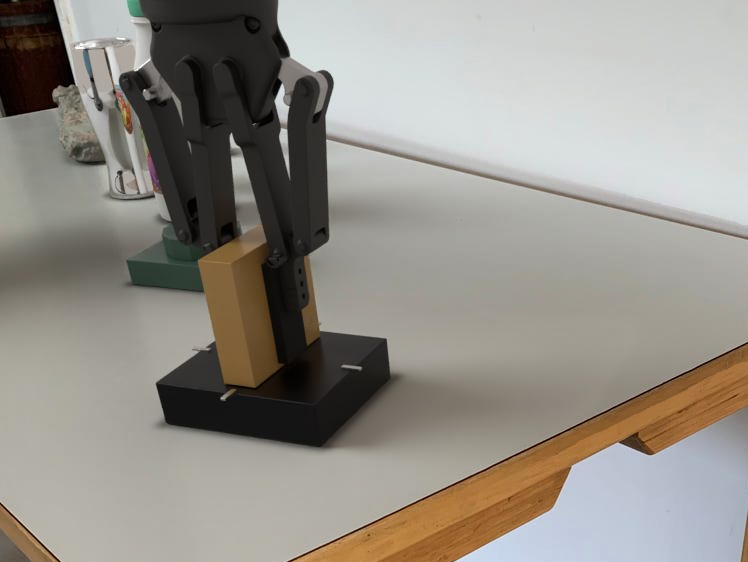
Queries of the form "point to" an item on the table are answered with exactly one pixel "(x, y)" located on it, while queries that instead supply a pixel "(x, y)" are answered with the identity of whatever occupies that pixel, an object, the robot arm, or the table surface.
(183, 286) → the button block
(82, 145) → the long grey stone
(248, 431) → the black base
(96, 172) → the table surface
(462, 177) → the table surface
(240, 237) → the tan wooden block
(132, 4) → the milk bottle
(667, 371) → the table surface
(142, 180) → the beer glass
